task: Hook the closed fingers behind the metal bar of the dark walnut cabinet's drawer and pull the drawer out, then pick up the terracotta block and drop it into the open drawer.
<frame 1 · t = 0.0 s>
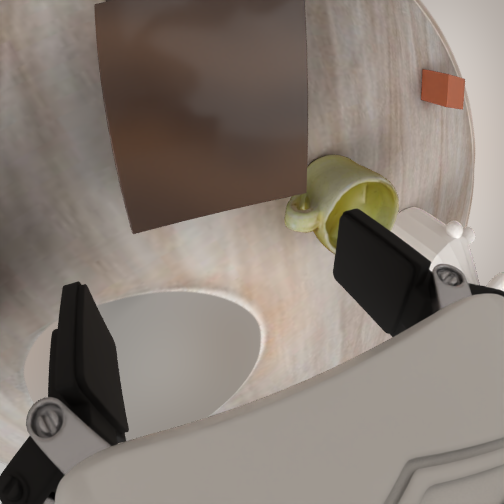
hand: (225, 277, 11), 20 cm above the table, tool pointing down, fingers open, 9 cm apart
drawer: (192, 42, 18), point 5 cm above the table, slide at 0.0 cm
cabinet: (184, 93, 24), on the table
mug: (311, 188, 35), on the table
block: (430, 86, 33), on the table
decorative object: (403, 238, 47), on the table
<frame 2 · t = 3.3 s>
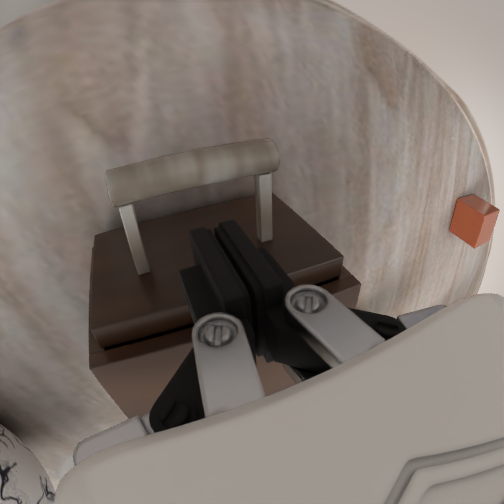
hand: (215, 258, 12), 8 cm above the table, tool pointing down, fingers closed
drawer: (211, 305, 18), point 5 cm above the table, slide at 0.0 cm, touching gripper
cabinet: (201, 304, 24), on the table
block: (461, 211, 33), on the table
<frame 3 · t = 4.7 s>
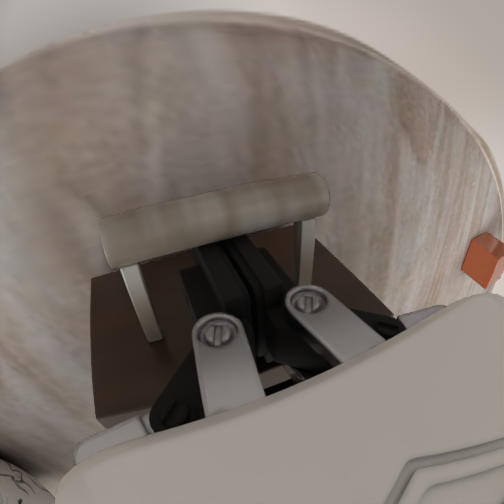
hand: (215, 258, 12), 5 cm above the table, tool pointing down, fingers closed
drawer: (232, 359, 15), point 5 cm above the table, slide at 3.1 cm, touching gripper
block: (474, 250, 32), on the table
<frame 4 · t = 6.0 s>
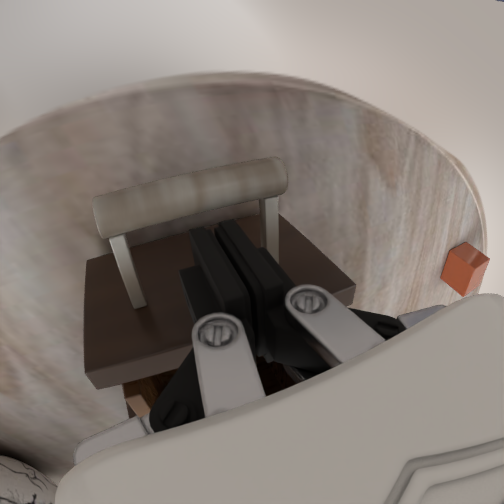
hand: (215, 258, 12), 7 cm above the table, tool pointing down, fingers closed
decorative sphere: (7, 459, 23), on the table
drawer: (213, 333, 16), point 5 cm above the table, slide at 6.0 cm
block: (453, 259, 35), on the table
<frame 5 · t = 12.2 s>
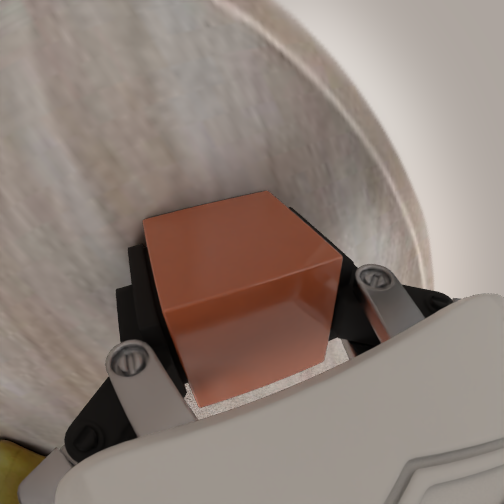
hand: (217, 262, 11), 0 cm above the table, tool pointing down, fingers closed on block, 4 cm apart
mug: (2, 456, 13), on the table
block: (214, 257, 12), on the table, touching gripper
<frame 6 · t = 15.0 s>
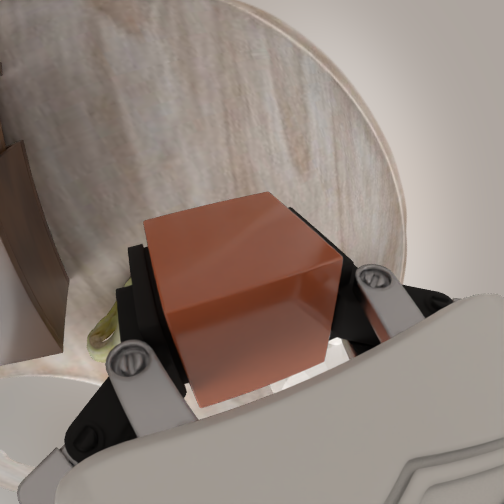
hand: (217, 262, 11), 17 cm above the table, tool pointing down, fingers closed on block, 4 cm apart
mug: (141, 298, 32), on the table
block: (215, 258, 12), point 17 cm above the table, touching gripper
decorative object: (294, 322, 44), on the table
when the fingers open (13 cm above the table, at t = 18.1 s): block drops 3 cm, resting on cabinet.
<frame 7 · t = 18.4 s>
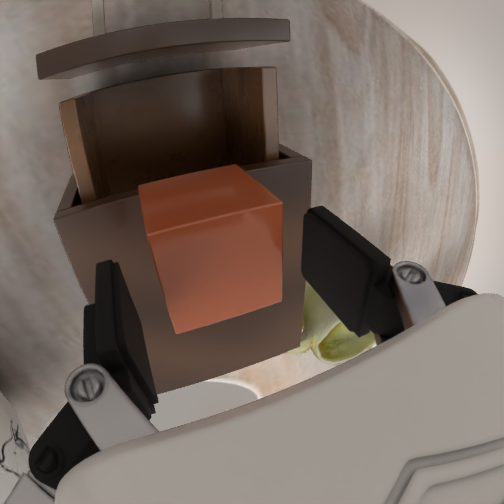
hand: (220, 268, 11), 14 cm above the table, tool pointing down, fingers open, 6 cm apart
drawer: (164, 106, 15), point 5 cm above the table, slide at 6.0 cm
cabinet: (176, 227, 25), on the table
mug: (307, 290, 35), on the table
block: (194, 218, 14), point 10 cm above the table, touching cabinet
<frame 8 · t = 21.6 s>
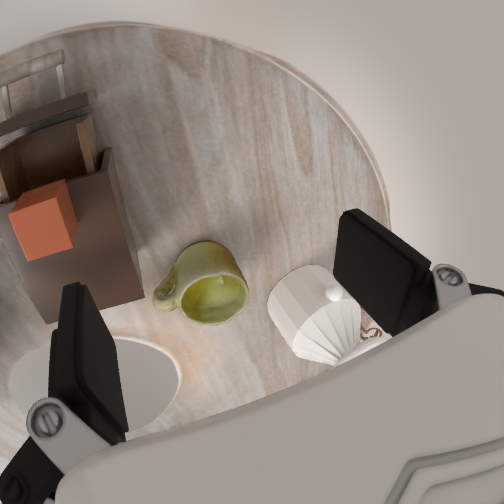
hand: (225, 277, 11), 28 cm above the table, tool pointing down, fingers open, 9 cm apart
drawer: (46, 147, 24), point 5 cm above the table, slide at 6.0 cm
cabinet: (77, 216, 34), on the table
mug: (189, 266, 45), on the table
block: (50, 208, 23), point 10 cm above the table, touching cabinet
decorative object: (302, 290, 57), on the table
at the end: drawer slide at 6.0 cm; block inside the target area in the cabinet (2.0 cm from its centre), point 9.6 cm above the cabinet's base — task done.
